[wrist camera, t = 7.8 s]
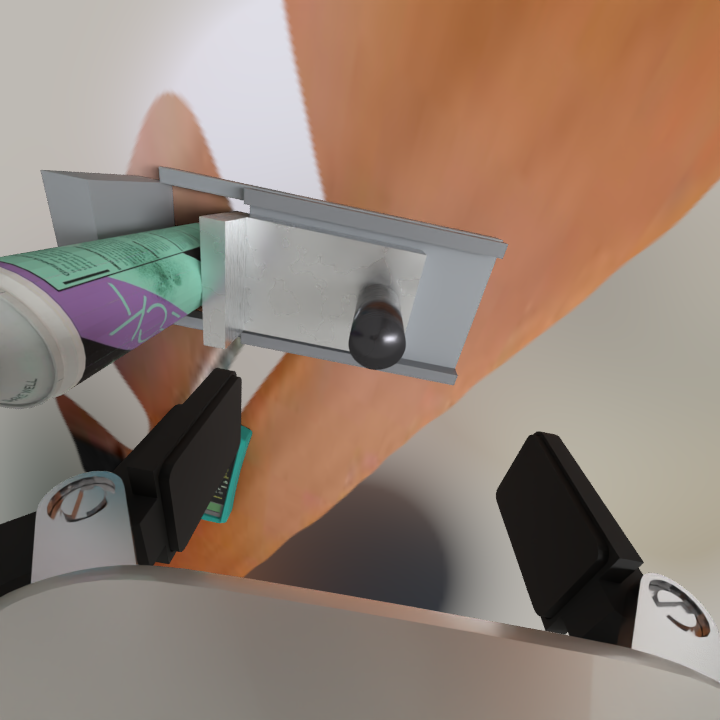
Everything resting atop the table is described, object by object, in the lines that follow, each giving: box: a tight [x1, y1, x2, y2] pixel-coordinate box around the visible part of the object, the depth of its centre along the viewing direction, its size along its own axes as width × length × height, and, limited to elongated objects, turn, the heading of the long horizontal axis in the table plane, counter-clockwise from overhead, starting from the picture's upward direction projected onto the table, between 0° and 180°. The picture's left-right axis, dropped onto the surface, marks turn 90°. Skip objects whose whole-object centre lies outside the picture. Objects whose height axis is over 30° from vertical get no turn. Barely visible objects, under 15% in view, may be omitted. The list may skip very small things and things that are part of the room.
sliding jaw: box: [199, 211, 427, 370], centre depth 22 cm, size 8×14×9 cm, turn 79°
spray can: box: [0, 223, 202, 409], centre depth 18 cm, size 6×6×20 cm
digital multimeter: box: [201, 425, 252, 523], centre depth 37 cm, size 7×15×3 cm, turn 160°
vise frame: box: [41, 167, 508, 385], centre depth 24 cm, size 12×28×8 cm, turn 79°
